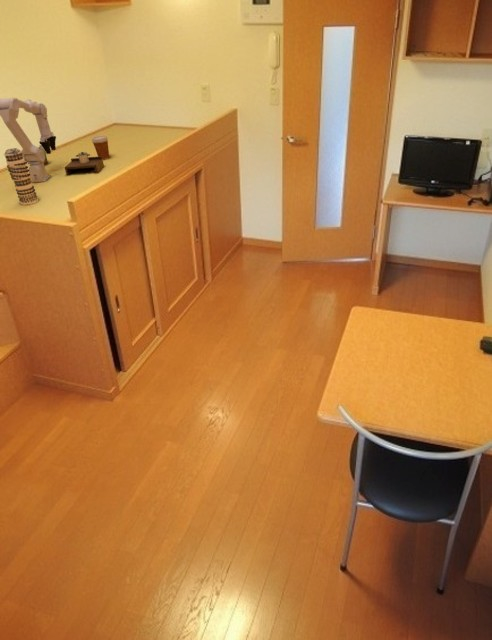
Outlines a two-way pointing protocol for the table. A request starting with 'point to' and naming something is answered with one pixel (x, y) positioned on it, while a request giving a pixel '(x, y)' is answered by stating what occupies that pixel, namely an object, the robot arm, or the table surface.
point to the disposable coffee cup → (101, 146)
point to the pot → (83, 157)
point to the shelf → (85, 164)
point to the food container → (45, 155)
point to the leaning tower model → (20, 176)
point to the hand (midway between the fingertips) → (51, 151)
